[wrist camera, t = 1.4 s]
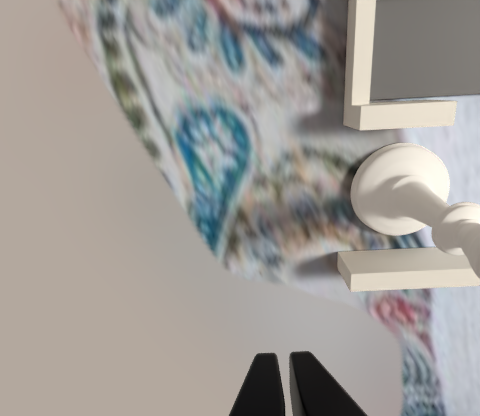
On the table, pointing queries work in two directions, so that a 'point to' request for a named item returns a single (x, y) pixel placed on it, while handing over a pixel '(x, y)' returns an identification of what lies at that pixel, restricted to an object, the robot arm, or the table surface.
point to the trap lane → (408, 111)
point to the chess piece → (415, 200)
